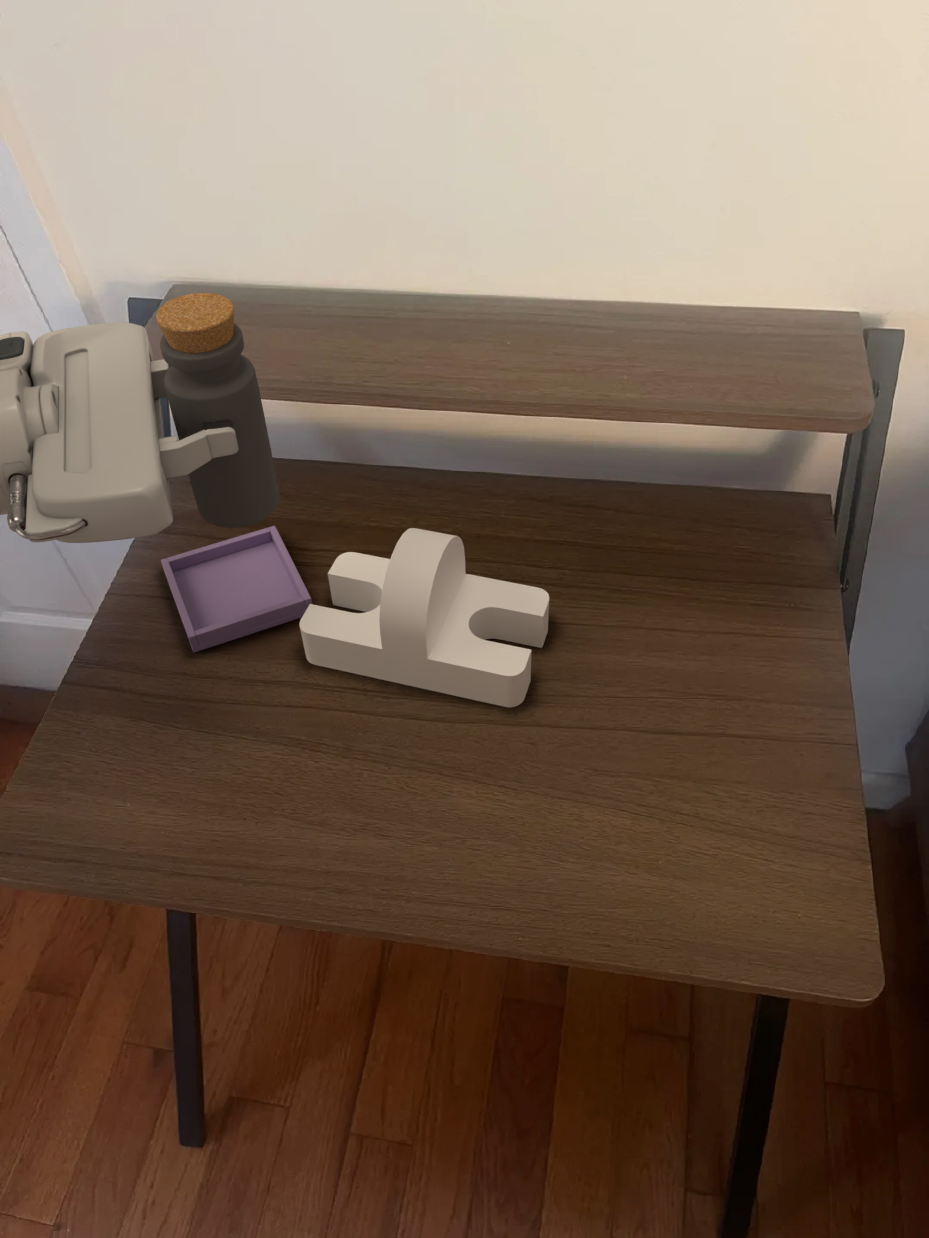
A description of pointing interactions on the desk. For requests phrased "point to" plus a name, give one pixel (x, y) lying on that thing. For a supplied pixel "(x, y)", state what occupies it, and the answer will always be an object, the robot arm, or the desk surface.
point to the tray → (235, 588)
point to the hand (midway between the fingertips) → (230, 405)
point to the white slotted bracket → (428, 622)
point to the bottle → (218, 407)
